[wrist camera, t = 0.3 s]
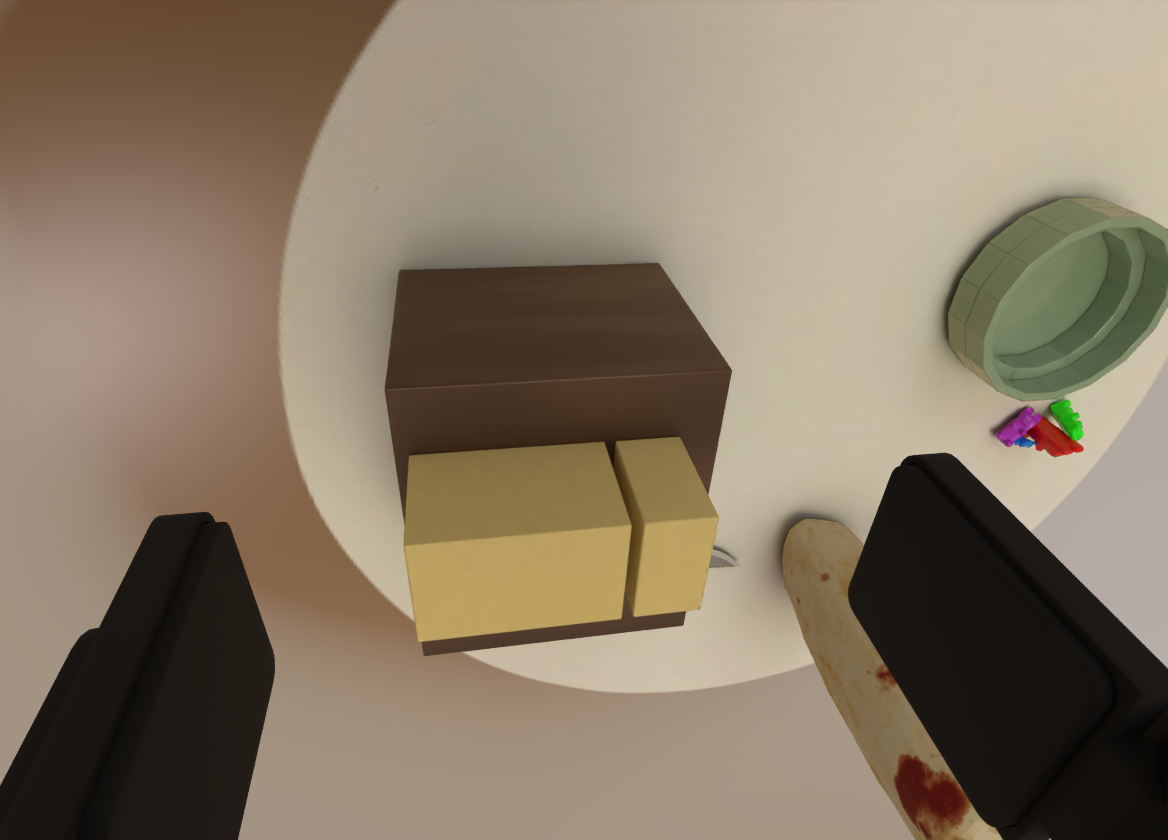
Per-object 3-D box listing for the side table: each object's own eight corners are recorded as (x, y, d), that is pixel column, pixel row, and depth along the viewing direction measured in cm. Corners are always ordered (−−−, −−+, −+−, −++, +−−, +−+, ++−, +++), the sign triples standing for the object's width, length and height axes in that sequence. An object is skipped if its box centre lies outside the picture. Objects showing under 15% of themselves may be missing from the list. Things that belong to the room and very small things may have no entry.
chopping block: (398, 269, 30) (384, 388, 22) (659, 262, 32) (733, 369, 24) (426, 506, 38) (423, 657, 30) (634, 489, 40) (683, 626, 32)
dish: (983, 195, 33) (1034, 219, 30) (1157, 193, 35) (1220, 215, 32) (917, 372, 39) (955, 406, 36) (1070, 363, 41) (1117, 395, 38)
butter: (408, 454, 24) (403, 546, 20) (604, 440, 25) (632, 525, 21) (421, 546, 26) (417, 643, 23) (597, 530, 28) (621, 619, 24)
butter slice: (614, 440, 25) (644, 524, 21) (680, 435, 26) (720, 517, 22) (607, 529, 28) (632, 618, 24) (667, 524, 28) (700, 610, 24)
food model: (747, 528, 44) (926, 870, 28) (844, 485, 43) (1087, 809, 27) (784, 611, 50) (951, 933, 33) (870, 573, 49) (1084, 885, 33)
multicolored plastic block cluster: (985, 444, 43) (1023, 480, 40) (996, 409, 42) (1037, 444, 39) (1057, 430, 44) (1101, 464, 41) (1071, 395, 42) (1117, 428, 39)
